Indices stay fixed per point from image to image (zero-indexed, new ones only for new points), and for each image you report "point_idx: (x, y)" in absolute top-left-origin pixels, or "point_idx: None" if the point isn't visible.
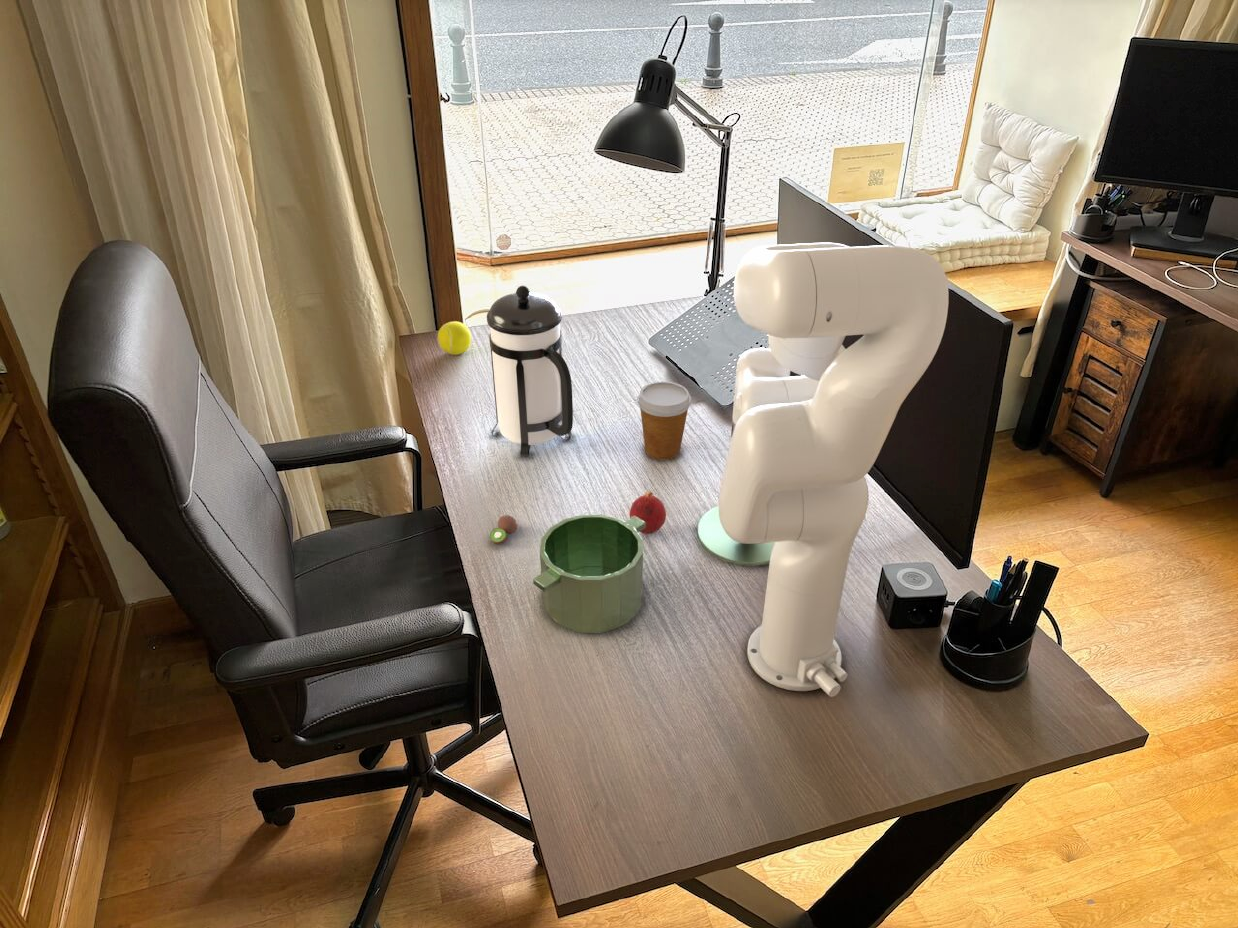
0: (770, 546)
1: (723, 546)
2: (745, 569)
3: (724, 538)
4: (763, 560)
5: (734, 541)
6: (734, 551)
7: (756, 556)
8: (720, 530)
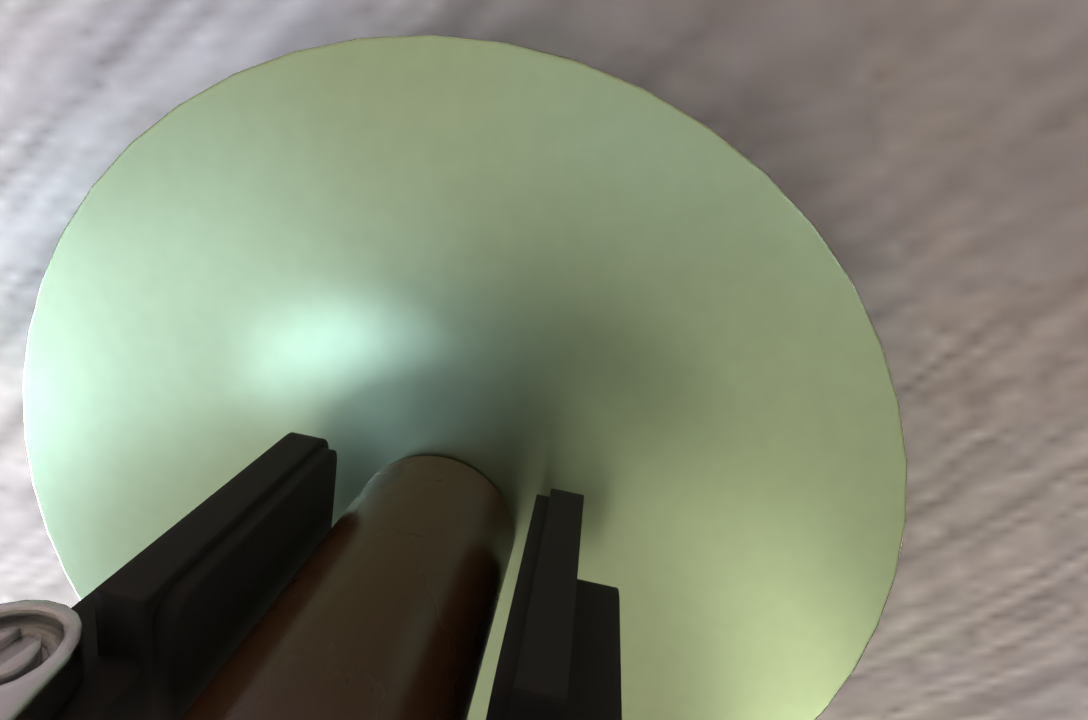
0: (582, 274)
1: (716, 664)
2: None
3: None
4: (839, 302)
5: None
6: (763, 576)
7: (786, 380)
8: None
